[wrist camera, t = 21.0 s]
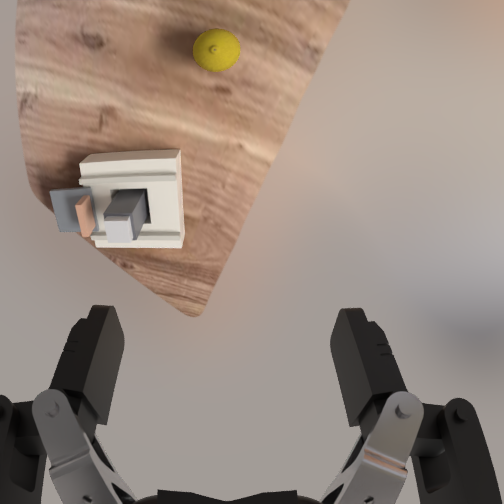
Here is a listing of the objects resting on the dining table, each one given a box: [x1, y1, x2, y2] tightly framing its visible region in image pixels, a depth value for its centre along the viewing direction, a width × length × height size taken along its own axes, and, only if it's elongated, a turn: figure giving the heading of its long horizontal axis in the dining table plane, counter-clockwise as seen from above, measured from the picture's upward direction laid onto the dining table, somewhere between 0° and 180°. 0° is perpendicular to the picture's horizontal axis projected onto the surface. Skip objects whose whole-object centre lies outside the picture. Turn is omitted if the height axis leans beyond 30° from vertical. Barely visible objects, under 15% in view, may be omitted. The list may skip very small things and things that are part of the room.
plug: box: [103, 188, 150, 243], centre depth 42 cm, size 4×4×10 cm
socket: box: [79, 149, 185, 248], centre depth 44 cm, size 14×14×5 cm
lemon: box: [193, 29, 240, 72], centre depth 32 cm, size 6×6×8 cm
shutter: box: [49, 187, 99, 237], centre depth 41 cm, size 7×7×4 cm
